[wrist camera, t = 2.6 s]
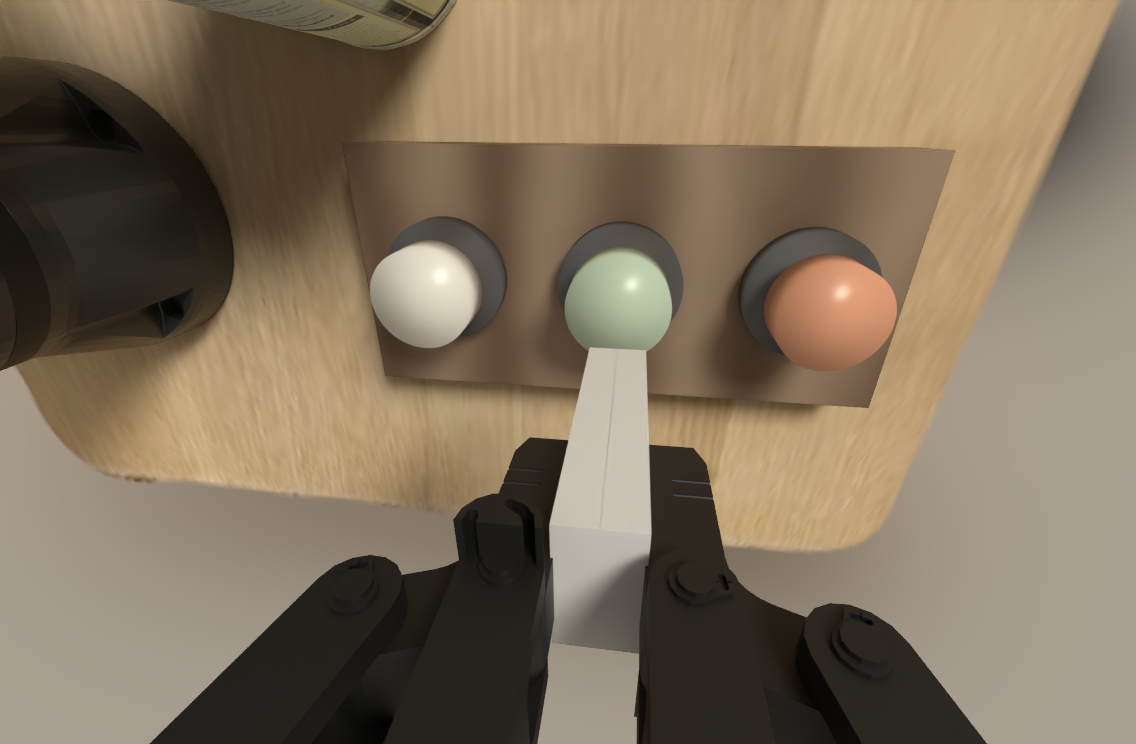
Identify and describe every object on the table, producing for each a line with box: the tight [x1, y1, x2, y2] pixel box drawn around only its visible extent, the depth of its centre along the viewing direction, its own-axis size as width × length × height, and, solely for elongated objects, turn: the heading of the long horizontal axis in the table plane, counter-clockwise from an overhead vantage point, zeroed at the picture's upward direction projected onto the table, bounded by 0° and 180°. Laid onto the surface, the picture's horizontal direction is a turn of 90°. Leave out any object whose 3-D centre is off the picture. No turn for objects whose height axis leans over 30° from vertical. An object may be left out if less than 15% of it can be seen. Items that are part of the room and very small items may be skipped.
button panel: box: [342, 141, 955, 408], centre depth 24 cm, size 26×12×4 cm, turn 90°
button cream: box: [370, 240, 482, 348], centre depth 22 cm, size 4×4×2 cm
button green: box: [564, 246, 672, 352], centre depth 21 cm, size 4×4×2 cm
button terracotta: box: [764, 253, 897, 371], centre depth 20 cm, size 4×4×2 cm
